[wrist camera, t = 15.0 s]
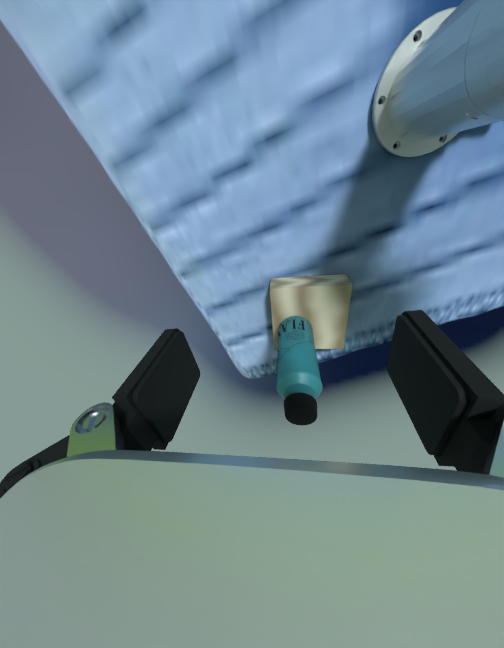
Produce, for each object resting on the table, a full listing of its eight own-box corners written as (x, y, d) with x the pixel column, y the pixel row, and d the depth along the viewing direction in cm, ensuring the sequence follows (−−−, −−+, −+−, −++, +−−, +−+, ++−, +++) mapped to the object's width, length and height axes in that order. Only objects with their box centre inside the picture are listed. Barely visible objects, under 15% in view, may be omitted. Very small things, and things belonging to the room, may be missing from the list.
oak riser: (345, 273, 41) (352, 284, 37) (338, 334, 49) (343, 348, 45) (271, 278, 44) (269, 289, 39) (275, 335, 51) (274, 349, 47)
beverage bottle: (307, 306, 40) (322, 396, 24) (315, 334, 44) (334, 430, 27) (273, 315, 42) (266, 404, 26) (283, 341, 45) (283, 435, 29)
